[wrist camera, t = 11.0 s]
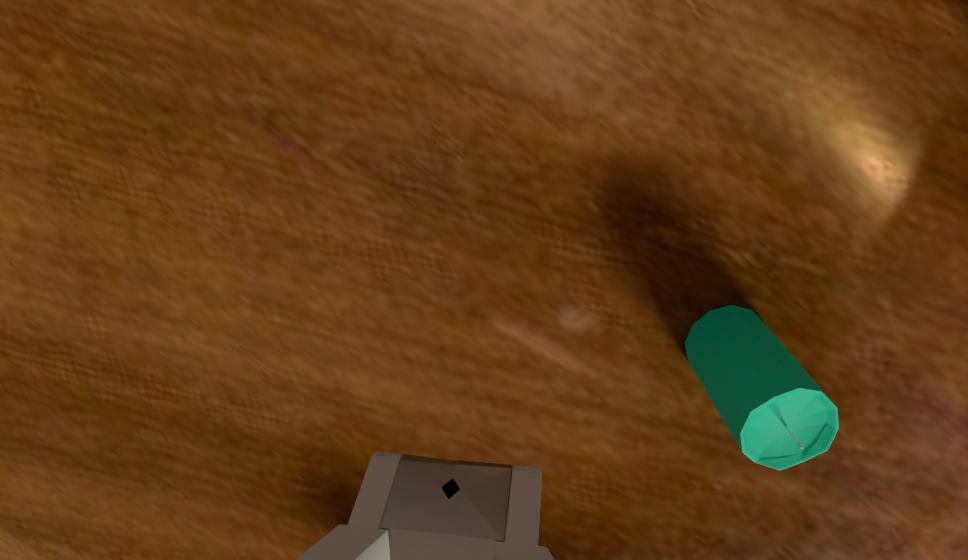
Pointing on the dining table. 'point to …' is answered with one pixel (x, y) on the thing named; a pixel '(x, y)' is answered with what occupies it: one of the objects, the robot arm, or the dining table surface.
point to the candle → (760, 389)
